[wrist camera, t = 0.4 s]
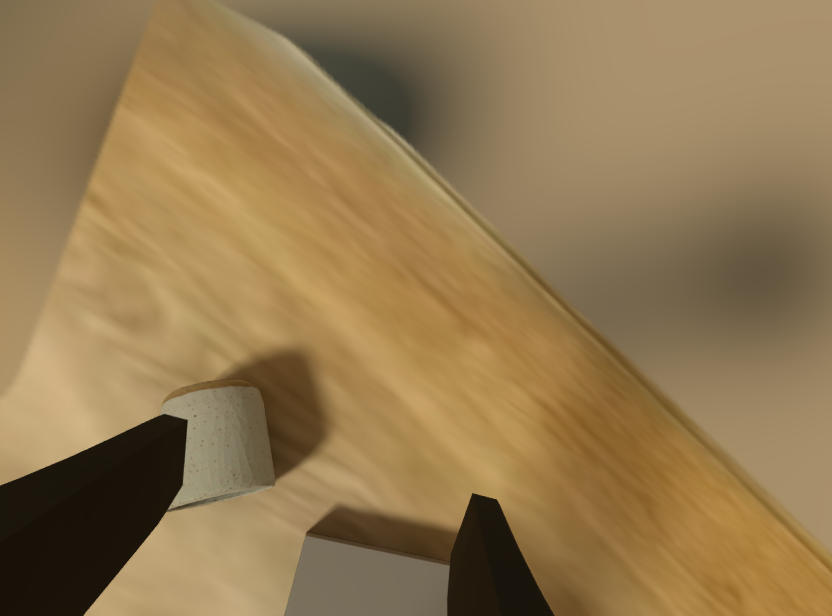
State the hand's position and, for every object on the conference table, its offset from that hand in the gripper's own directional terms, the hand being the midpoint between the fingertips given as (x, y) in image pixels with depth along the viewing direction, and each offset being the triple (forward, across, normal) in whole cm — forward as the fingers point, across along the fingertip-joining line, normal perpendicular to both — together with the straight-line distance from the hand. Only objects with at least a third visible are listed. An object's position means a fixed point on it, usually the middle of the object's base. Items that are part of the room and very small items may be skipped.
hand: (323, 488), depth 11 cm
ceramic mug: (+21, +12, +19) cm, 31 cm away
